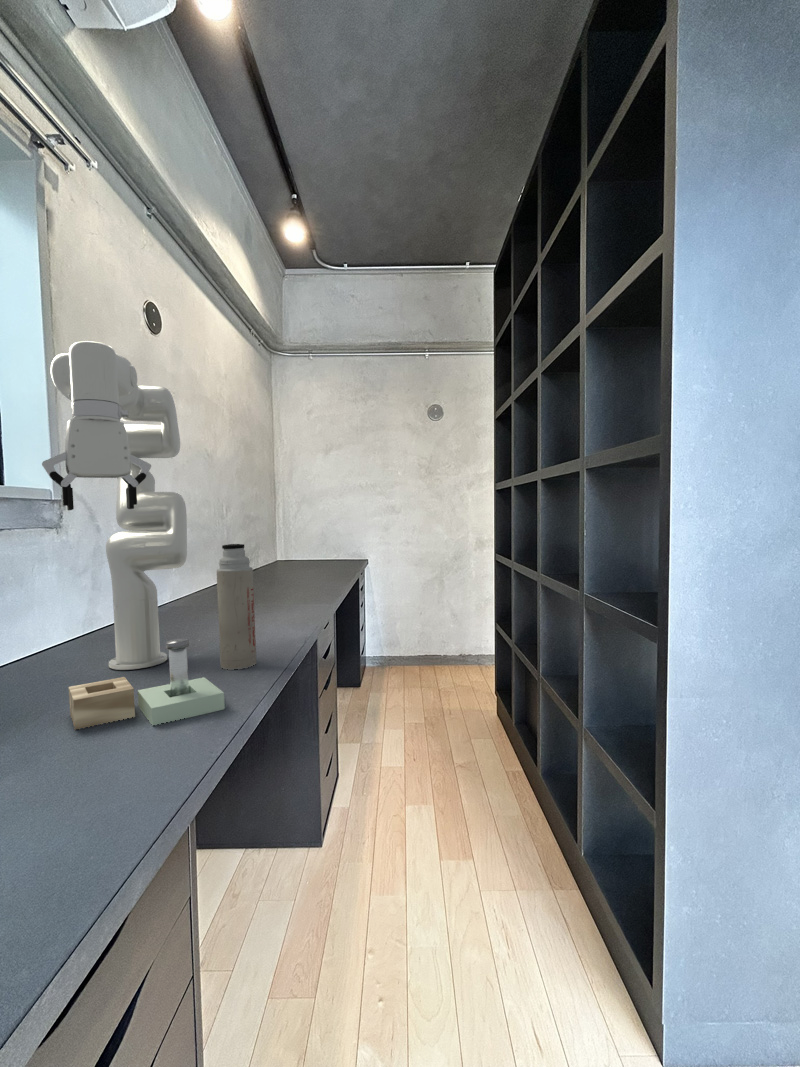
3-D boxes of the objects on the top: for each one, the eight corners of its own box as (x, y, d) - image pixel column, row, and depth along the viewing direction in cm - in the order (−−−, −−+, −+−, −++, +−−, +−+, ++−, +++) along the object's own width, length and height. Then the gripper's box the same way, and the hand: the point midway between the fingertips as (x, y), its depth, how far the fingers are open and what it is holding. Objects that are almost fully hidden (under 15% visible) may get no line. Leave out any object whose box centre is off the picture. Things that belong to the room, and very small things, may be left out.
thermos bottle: (262, 660, 130) (257, 542, 129) (246, 670, 122) (241, 545, 121) (231, 659, 132) (226, 543, 131) (213, 669, 124) (208, 545, 123)
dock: (138, 706, 101) (137, 690, 101) (204, 692, 108) (204, 677, 108) (152, 726, 91) (151, 708, 91) (224, 709, 98) (223, 692, 98)
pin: (166, 707, 100) (163, 641, 99) (188, 702, 102) (185, 637, 102) (172, 713, 97) (168, 644, 96) (194, 708, 99) (191, 641, 98)
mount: (70, 714, 98) (68, 686, 97) (125, 703, 103) (124, 676, 103) (75, 730, 90) (73, 700, 90) (135, 717, 96) (133, 688, 95)
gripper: (144, 420, 107) (148, 508, 108) (38, 413, 97) (43, 511, 98) (152, 414, 101) (156, 508, 102) (40, 406, 91) (45, 510, 91)
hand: (101, 509), depth 100 cm, fingers open, 9 cm apart
